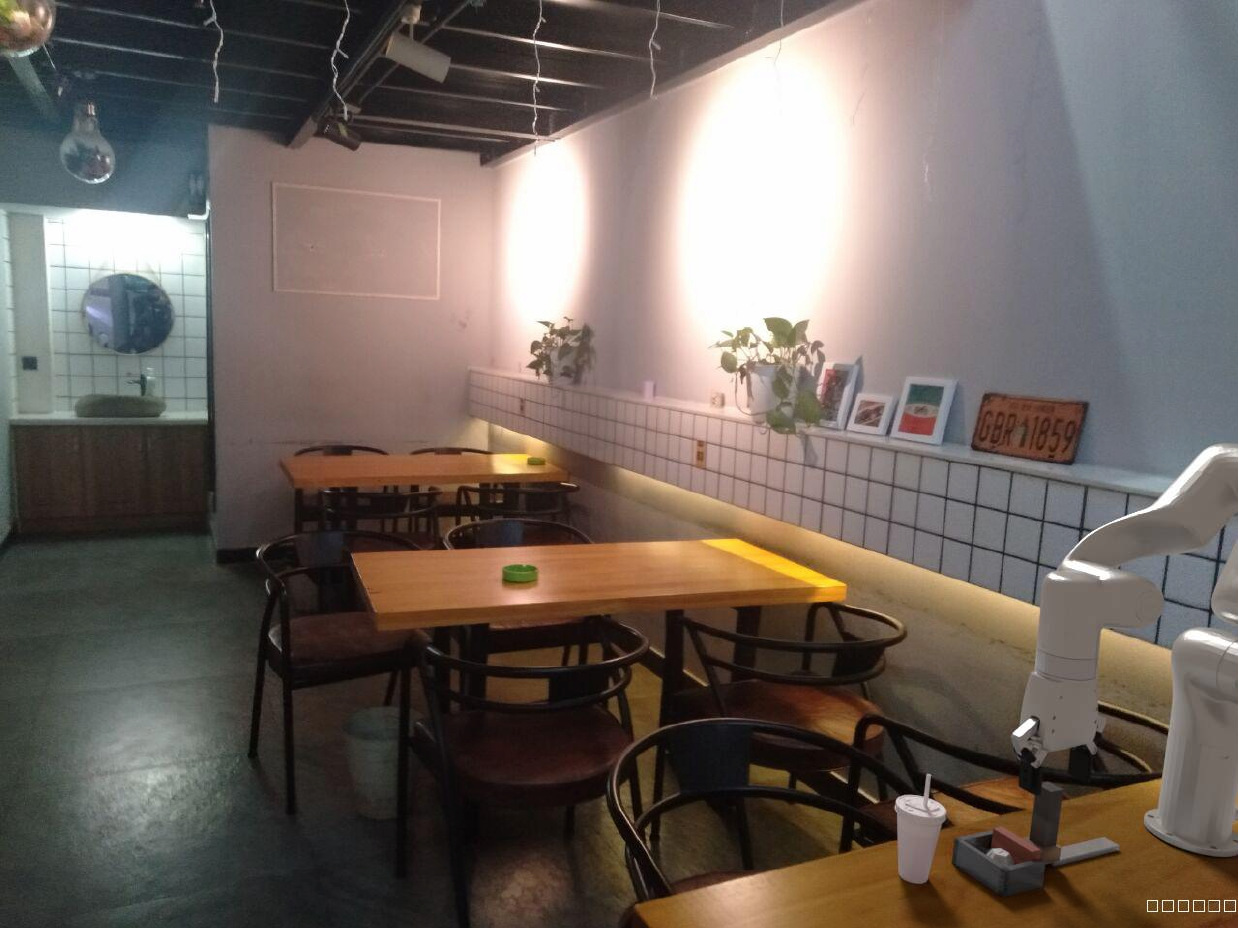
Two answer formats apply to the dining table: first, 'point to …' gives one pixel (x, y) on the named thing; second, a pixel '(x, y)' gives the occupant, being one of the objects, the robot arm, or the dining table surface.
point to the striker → (1035, 830)
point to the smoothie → (917, 834)
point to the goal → (995, 866)
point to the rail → (1086, 850)
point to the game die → (1001, 857)
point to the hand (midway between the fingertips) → (1054, 784)
